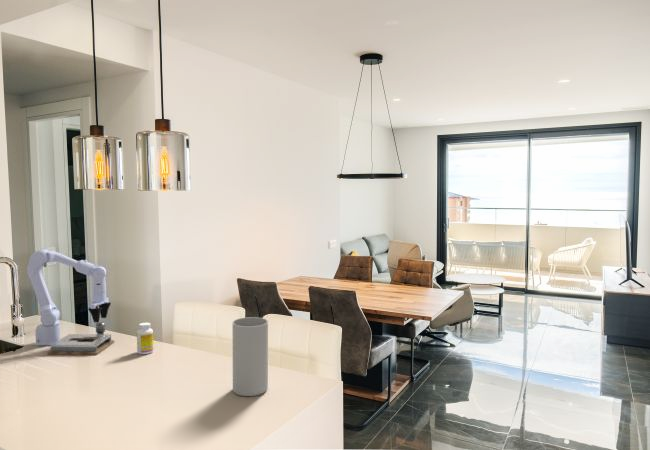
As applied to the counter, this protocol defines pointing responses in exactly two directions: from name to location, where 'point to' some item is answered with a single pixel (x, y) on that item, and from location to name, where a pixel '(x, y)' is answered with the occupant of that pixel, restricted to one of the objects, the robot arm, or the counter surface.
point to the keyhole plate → (80, 343)
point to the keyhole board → (100, 349)
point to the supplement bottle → (144, 339)
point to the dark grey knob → (100, 327)
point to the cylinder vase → (250, 356)
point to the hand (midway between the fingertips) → (100, 319)
